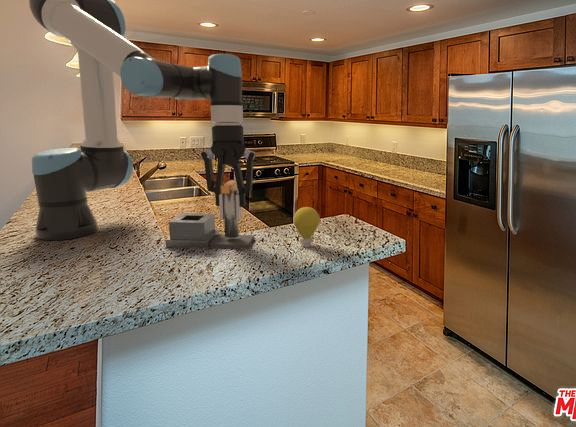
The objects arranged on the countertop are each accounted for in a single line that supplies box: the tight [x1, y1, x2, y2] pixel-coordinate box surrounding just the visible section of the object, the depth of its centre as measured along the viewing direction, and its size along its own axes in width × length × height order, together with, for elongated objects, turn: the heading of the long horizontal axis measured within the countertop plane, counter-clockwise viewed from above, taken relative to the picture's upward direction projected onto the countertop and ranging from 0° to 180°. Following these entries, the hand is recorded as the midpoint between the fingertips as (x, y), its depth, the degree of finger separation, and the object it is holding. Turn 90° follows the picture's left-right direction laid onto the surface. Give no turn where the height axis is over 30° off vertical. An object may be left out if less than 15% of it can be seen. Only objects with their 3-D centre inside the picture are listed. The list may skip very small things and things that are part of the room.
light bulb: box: [292, 206, 321, 248], centre depth 92 cm, size 7×7×10 cm
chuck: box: [164, 212, 221, 250], centre depth 95 cm, size 11×10×6 cm
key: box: [221, 179, 240, 238], centre depth 93 cm, size 9×4×14 cm, turn 174°
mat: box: [209, 233, 255, 250], centre depth 95 cm, size 10×8×1 cm
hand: (231, 218), depth 93 cm, fingers closed on key, 3 cm apart
